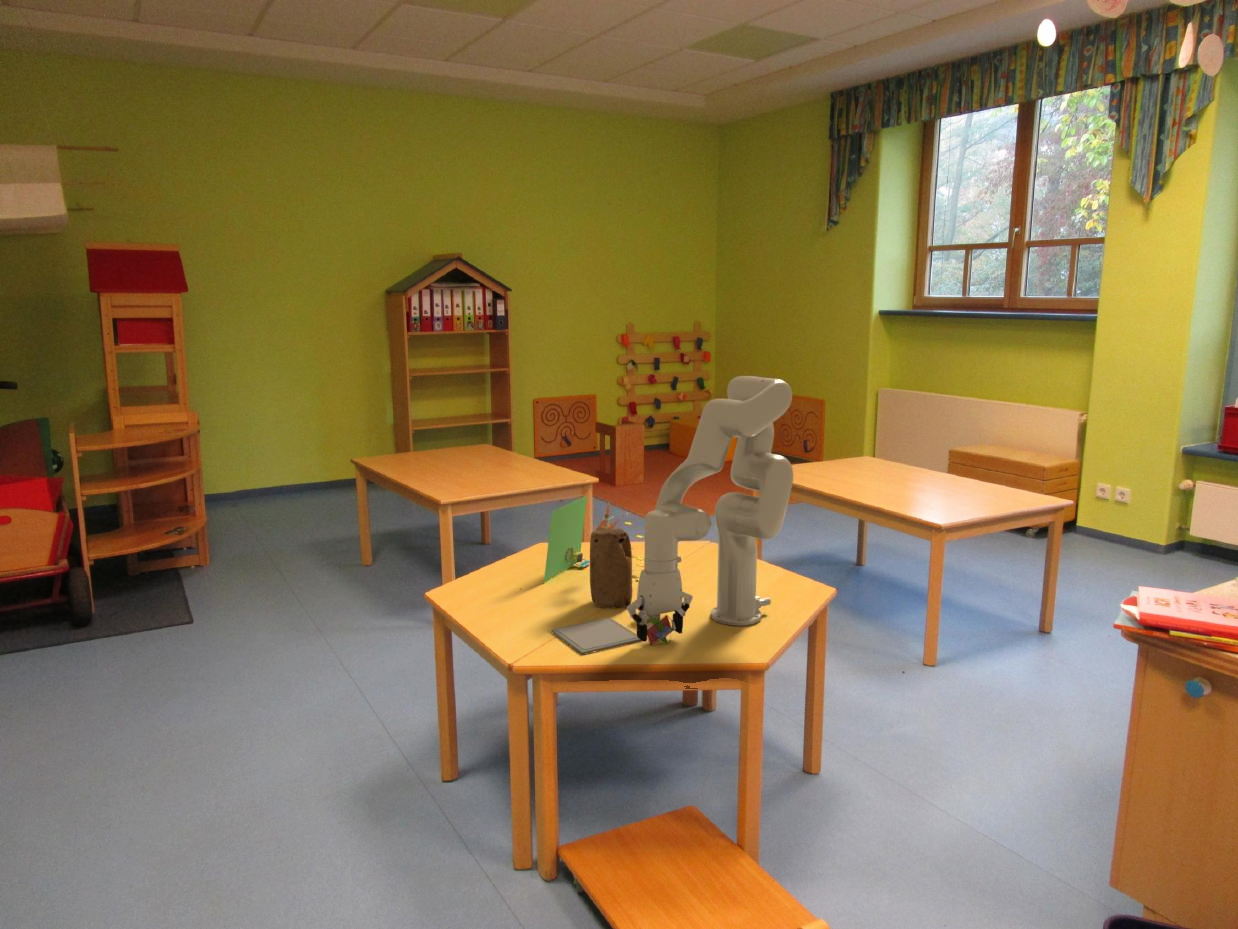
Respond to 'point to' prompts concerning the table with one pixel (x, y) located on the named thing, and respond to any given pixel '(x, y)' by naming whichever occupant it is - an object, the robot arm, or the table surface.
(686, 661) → the table surface
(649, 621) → the tan rounded cylinder
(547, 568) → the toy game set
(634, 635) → the felt mat
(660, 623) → the geometric puzzle
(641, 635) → the robot arm
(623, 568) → the block
